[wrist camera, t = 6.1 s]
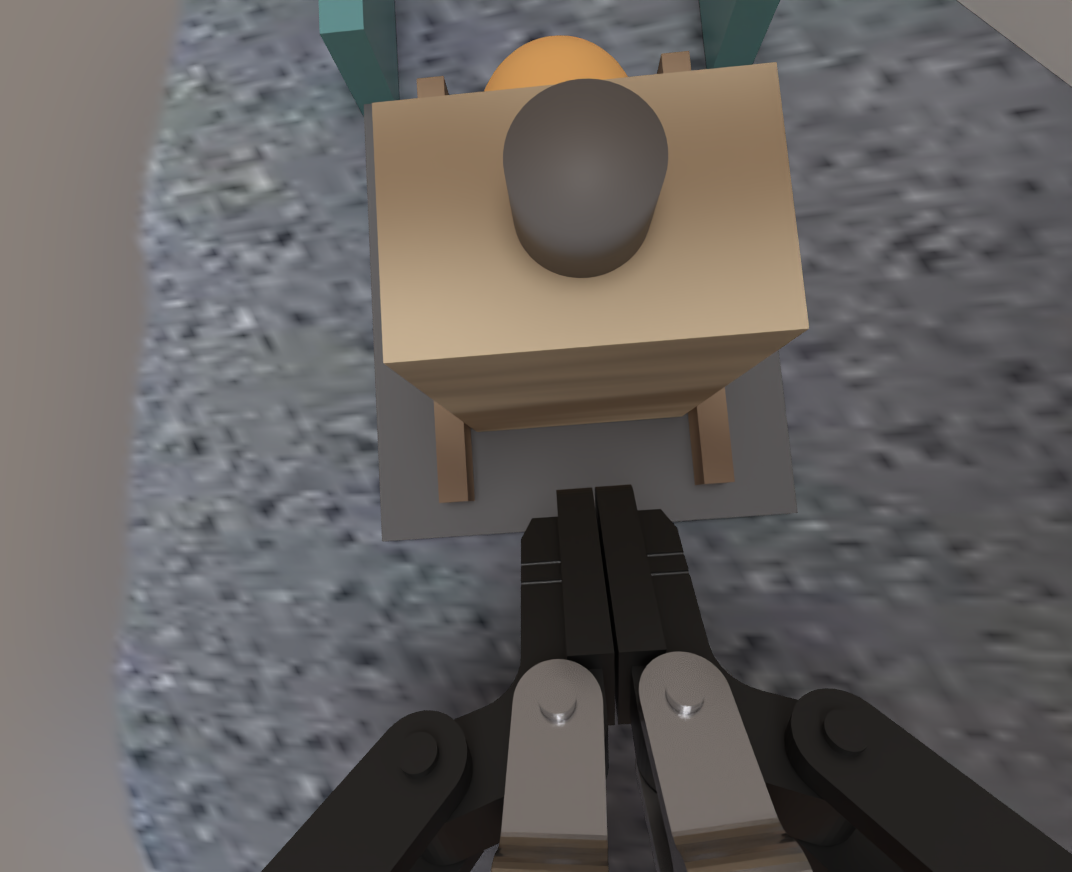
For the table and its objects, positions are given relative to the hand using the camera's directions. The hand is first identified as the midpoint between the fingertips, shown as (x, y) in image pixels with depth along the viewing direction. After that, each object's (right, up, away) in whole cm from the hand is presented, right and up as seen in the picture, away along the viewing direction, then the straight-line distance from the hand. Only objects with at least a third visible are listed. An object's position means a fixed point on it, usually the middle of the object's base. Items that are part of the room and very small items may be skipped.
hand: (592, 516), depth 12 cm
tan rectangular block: (0, +4, +5) cm, 7 cm away
